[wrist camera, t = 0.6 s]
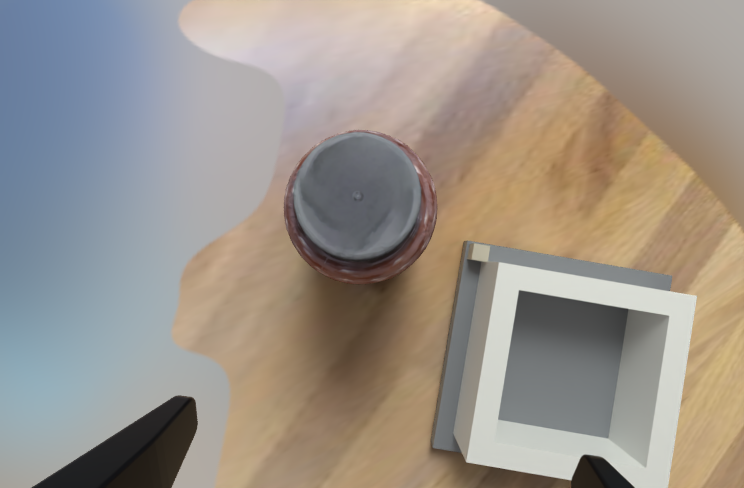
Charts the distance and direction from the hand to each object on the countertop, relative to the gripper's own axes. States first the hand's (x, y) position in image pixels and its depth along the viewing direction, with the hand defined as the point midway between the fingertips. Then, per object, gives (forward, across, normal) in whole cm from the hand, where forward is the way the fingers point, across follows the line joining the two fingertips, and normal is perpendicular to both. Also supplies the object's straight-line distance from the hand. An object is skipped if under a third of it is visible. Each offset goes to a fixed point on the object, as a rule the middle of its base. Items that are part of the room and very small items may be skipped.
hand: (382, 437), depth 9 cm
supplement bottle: (+15, +2, 0) cm, 15 cm away
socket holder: (+13, -10, +6) cm, 17 cm away
